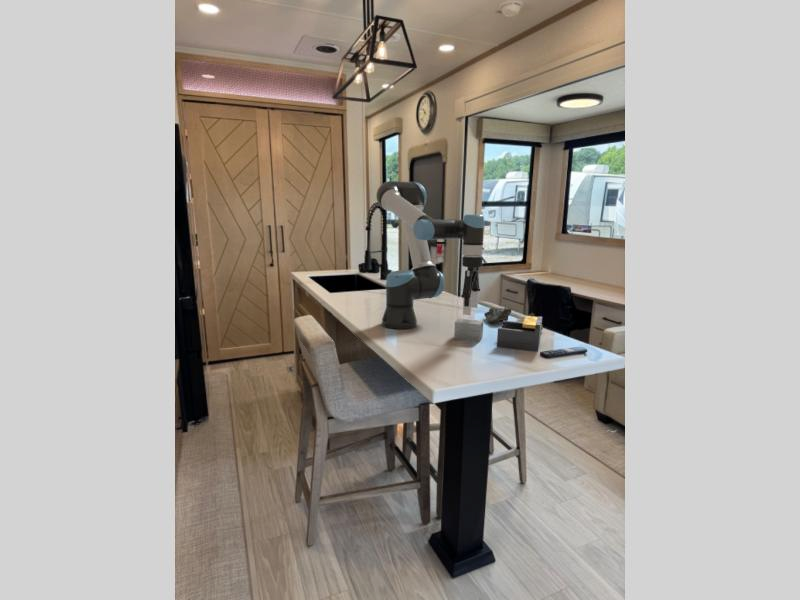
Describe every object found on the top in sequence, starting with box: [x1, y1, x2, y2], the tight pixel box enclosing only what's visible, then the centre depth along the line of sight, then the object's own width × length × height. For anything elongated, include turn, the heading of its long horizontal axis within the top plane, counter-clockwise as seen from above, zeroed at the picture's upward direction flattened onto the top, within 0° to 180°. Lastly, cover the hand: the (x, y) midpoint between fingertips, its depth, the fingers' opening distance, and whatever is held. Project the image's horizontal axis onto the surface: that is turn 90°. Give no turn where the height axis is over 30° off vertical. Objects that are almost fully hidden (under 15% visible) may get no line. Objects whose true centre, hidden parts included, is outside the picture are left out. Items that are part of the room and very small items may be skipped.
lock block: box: [453, 318, 484, 343], centre depth 172 cm, size 10×6×7 cm, turn 70°
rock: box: [483, 307, 512, 325], centre depth 199 cm, size 13×13×10 cm
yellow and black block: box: [515, 312, 544, 332], centre depth 184 cm, size 10×11×10 cm
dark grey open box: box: [496, 315, 543, 353], centre depth 165 cm, size 15×13×10 cm
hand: (470, 311), depth 170 cm, fingers open, 13 cm apart
